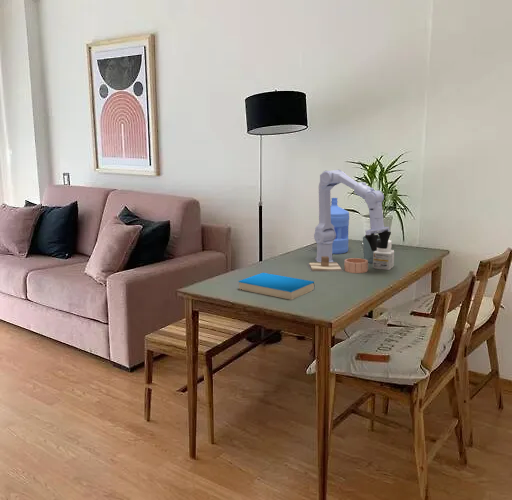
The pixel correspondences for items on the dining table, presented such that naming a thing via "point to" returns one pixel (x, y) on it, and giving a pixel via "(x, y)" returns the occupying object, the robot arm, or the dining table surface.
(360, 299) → the dining table surface
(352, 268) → the bowl
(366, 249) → the dark green cup
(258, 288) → the book
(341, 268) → the mat
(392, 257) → the container
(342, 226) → the water jug
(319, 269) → the lid
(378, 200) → the robot arm
